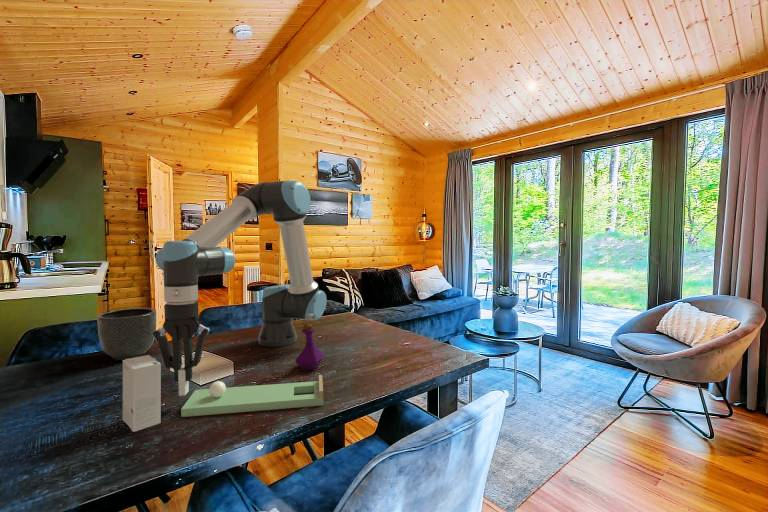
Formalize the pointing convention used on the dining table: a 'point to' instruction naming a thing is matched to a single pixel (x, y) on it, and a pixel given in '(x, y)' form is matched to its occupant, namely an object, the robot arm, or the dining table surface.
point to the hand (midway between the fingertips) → (183, 393)
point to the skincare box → (141, 392)
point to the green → (255, 398)
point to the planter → (127, 332)
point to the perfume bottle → (309, 349)
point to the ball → (217, 389)
